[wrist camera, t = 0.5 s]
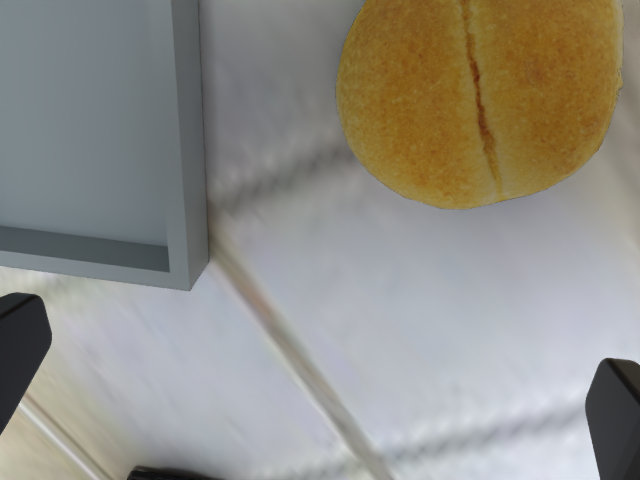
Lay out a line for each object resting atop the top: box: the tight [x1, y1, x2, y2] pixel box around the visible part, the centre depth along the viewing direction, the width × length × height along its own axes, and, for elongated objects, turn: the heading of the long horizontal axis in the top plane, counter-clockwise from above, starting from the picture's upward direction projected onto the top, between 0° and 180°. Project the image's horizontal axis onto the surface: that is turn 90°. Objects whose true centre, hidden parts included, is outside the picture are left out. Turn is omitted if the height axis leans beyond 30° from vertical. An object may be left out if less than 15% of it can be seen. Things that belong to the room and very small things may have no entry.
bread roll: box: [335, 0, 624, 209], centre depth 16 cm, size 8×9×4 cm
